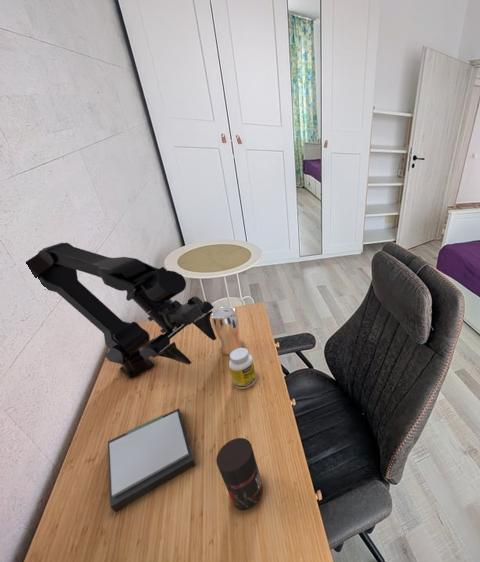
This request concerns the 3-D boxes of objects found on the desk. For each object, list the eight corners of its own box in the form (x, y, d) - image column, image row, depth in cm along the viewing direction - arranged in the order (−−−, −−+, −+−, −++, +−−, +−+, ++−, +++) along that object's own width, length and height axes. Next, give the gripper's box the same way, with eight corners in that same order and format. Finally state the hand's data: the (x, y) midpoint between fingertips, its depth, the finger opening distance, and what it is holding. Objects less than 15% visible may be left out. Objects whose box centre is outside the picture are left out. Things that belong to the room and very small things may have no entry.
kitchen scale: (111, 446, 65) (106, 439, 64) (181, 413, 73) (178, 406, 72) (114, 512, 55) (108, 505, 53) (195, 464, 63) (192, 457, 62)
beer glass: (235, 338, 98) (227, 303, 91) (247, 347, 95) (239, 311, 88) (216, 349, 93) (205, 312, 86) (228, 359, 90) (217, 322, 83)
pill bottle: (249, 391, 80) (242, 364, 75) (229, 387, 81) (221, 359, 76) (260, 375, 86) (255, 348, 80) (242, 371, 86) (235, 344, 81)
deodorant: (264, 502, 58) (252, 463, 50) (232, 515, 56) (215, 476, 48) (262, 473, 62) (251, 433, 55) (232, 484, 60) (217, 444, 53)
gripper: (141, 318, 58) (194, 370, 63) (205, 276, 74) (244, 320, 79) (115, 333, 63) (167, 381, 68) (181, 290, 79) (219, 332, 84)
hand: (203, 351), depth 75 cm, fingers open, 9 cm apart
